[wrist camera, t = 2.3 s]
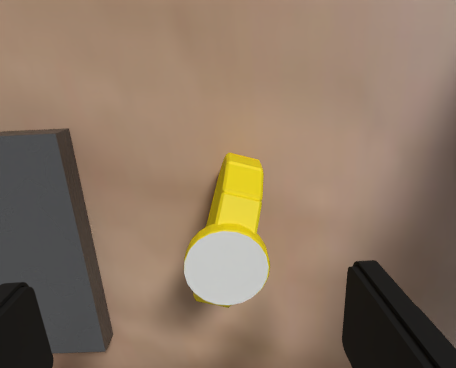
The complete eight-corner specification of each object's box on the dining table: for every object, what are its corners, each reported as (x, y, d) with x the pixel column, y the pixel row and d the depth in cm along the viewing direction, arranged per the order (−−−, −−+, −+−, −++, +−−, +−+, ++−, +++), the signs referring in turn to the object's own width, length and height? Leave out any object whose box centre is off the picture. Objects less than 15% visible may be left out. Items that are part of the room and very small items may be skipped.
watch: (237, 259, 17) (242, 352, 11) (186, 247, 17) (165, 338, 11) (270, 151, 15) (296, 200, 9) (212, 137, 15) (203, 179, 9)
